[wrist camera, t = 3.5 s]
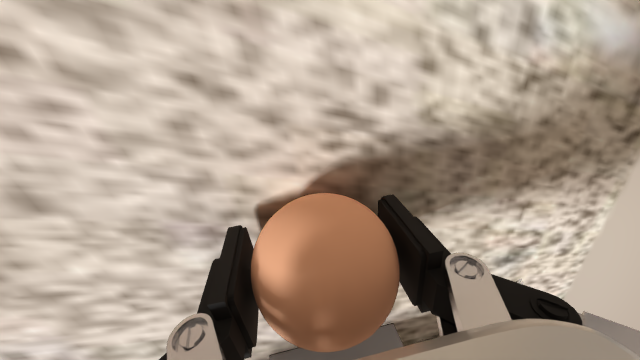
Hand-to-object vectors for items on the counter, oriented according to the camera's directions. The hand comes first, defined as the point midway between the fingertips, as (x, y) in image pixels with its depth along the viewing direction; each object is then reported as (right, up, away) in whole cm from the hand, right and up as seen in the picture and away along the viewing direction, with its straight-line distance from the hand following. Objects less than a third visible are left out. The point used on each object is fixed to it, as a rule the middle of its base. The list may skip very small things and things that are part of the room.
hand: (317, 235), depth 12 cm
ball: (0, -1, -2) cm, 2 cm away
